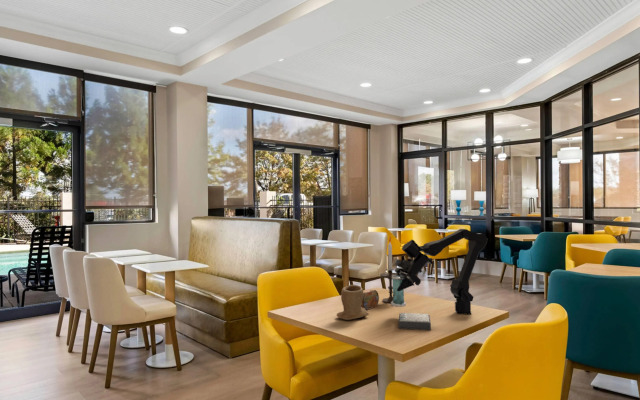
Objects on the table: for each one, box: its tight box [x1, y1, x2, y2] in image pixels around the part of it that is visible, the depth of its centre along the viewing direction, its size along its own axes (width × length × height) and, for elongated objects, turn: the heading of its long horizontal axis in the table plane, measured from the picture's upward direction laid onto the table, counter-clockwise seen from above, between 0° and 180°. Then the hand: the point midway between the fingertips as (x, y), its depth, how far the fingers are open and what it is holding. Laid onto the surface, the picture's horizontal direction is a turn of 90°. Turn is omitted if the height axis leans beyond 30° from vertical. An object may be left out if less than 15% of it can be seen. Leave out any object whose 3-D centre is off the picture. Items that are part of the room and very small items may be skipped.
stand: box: [398, 312, 432, 331], centre depth 179 cm, size 13×13×4 cm
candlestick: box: [379, 236, 397, 305], centre depth 224 cm, size 11×11×35 cm
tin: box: [361, 289, 380, 311], centre depth 211 cm, size 15×3×8 cm, turn 143°
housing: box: [390, 276, 407, 308], centre depth 193 cm, size 7×7×13 cm
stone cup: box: [336, 284, 369, 321], centre depth 192 cm, size 15×12×15 cm
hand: (395, 289), depth 192 cm, fingers closed on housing, 5 cm apart
